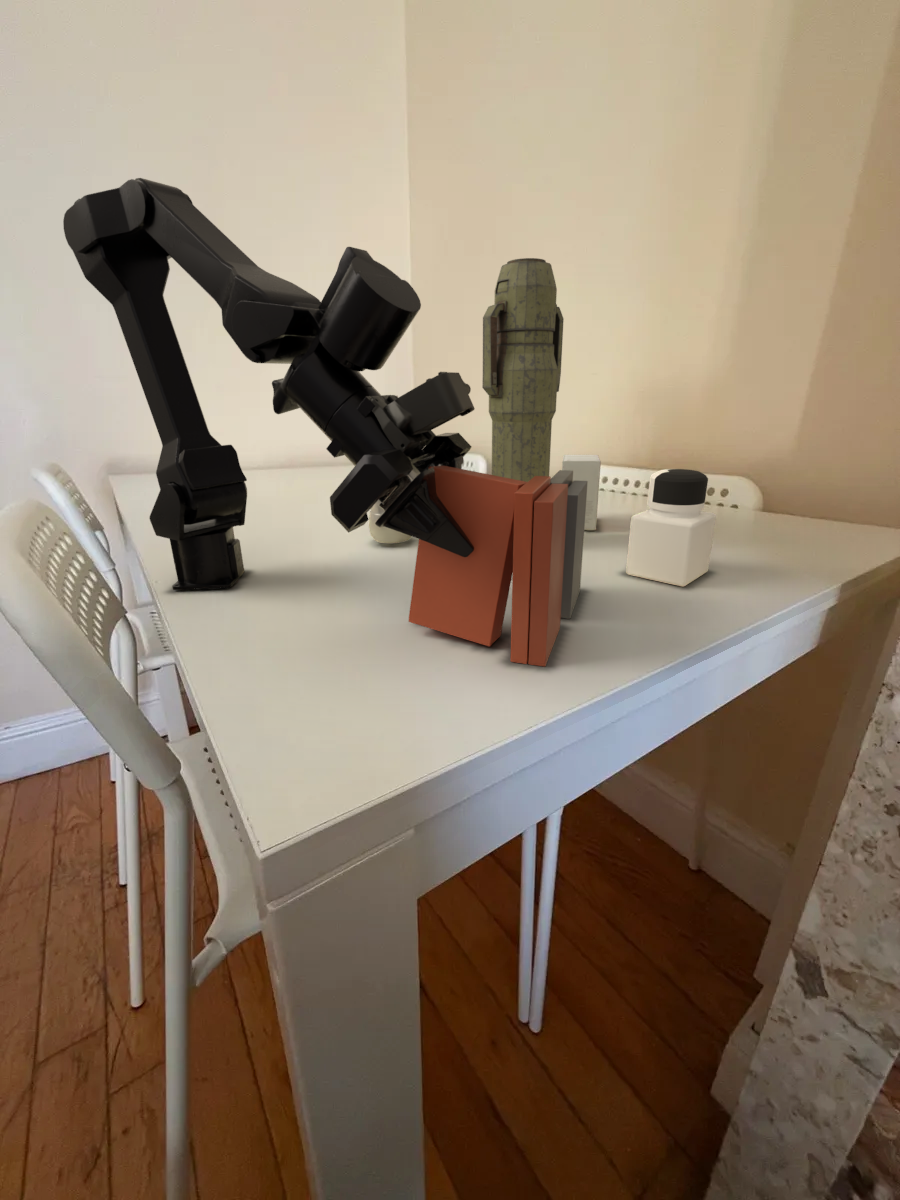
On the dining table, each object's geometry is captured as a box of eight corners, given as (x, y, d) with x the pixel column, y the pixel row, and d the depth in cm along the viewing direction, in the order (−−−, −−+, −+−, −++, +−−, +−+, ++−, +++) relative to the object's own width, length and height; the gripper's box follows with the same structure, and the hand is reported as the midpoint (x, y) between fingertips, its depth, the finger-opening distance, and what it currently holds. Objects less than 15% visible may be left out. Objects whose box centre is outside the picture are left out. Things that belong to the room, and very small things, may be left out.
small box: (595, 531, 86) (601, 460, 82) (558, 530, 87) (562, 460, 83) (594, 519, 94) (599, 454, 90) (559, 518, 95) (563, 453, 91)
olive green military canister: (466, 543, 81) (465, 262, 69) (523, 529, 88) (532, 272, 76) (511, 556, 75) (518, 249, 62) (568, 540, 82) (586, 261, 69)
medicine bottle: (708, 572, 67) (724, 469, 63) (684, 588, 63) (699, 478, 58) (651, 560, 72) (662, 464, 68) (624, 574, 67) (634, 471, 63)
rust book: (407, 621, 52) (427, 466, 47) (421, 612, 54) (442, 465, 50) (489, 647, 49) (519, 484, 44) (500, 636, 52) (529, 482, 47)
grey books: (540, 615, 56) (546, 482, 51) (553, 589, 63) (559, 470, 58) (570, 619, 55) (578, 484, 50) (579, 591, 62) (588, 470, 57)
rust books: (510, 662, 47) (514, 492, 42) (529, 624, 54) (534, 475, 49) (545, 666, 46) (553, 494, 41) (560, 628, 53) (568, 476, 48)
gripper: (353, 325, 36) (522, 505, 37) (448, 341, 53) (563, 465, 53) (265, 451, 41) (414, 607, 42) (376, 430, 58) (482, 542, 58)
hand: (477, 546), depth 49 cm, fingers closed on rust book, 4 cm apart
